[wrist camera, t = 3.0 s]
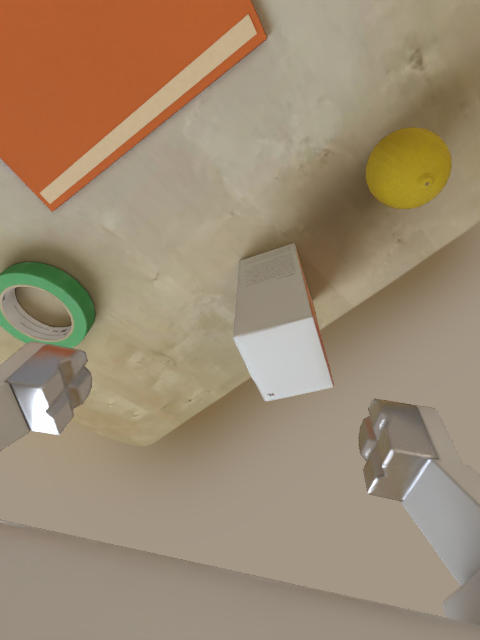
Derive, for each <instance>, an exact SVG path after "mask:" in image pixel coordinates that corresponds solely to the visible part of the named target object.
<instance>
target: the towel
mask: <svg viewBox="0 0 480 640" xmlns="http://www.w3.org/2000/svg"><path fill="white" fill-rule="evenodd" d="M266 39H267V36H266V34H265V32H264V29H263V27H262V25H261V22H260V20H259V18H258V15H257V13H256V11H255V9H254V6H253V4H252V2H251V0H0V158H1V159H2V160H3V161H4V162H5V163H6V164H7V165H8V166H9V167H10V168H11V169H12V170H13V171H14V172H15V173H16V174H17V175H18V177H19V178H20V179H21V180H22V181H23V182H24V183H25V184H26V185H27V186H28V187H29V188H30V189H31V190H32V191H33V192H34V193H35V194H36V195H37V196H38V197H39V198H40V199H41V200H42V201H43V202H44V204H45V205H46V206H47V207H48V208H49V209H50V210H51V211H54V210H56V209H57V208H58V207H59V206H60V205H62V204H63V203H64V202H65V201H67V200H68V199H69V198H70V197H72V196H73V195H74V194H75V193H77V192H78V191H79V190H80V189H82V188H83V187H84V186H85V185H86V184H88V183H89V182H90V181H91V180H93V179H94V178H95V177H96V176H98V175H99V174H100V173H101V172H103V171H104V170H105V169H106V168H108V167H109V166H110V165H111V164H113V163H114V162H115V161H116V160H117V159H119V158H120V157H121V156H122V155H124V154H125V153H126V152H127V151H129V150H130V149H131V148H132V147H134V146H135V145H136V144H137V143H139V142H140V141H141V140H142V139H143V138H145V137H146V136H147V135H148V134H150V133H151V132H152V131H153V130H155V129H156V128H157V127H158V126H160V125H161V124H162V123H163V122H165V121H166V120H167V119H168V118H170V117H171V116H172V115H173V114H174V113H176V112H177V111H178V110H179V109H181V108H182V107H183V106H184V105H186V104H187V103H188V102H189V101H191V100H192V99H193V98H194V97H196V96H197V95H198V94H199V93H201V92H202V91H203V90H204V89H205V88H207V87H208V86H209V85H210V84H212V83H213V82H214V81H215V80H217V79H218V78H219V77H220V76H222V75H223V74H224V73H225V72H227V71H228V70H229V69H230V68H231V67H233V66H234V65H235V64H236V63H238V62H239V61H240V60H241V59H243V58H244V57H245V56H246V55H248V54H249V53H250V52H251V51H253V50H254V49H255V48H256V47H258V46H259V45H260V44H261V43H262V42H264V41H265V40H266Z"/></svg>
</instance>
